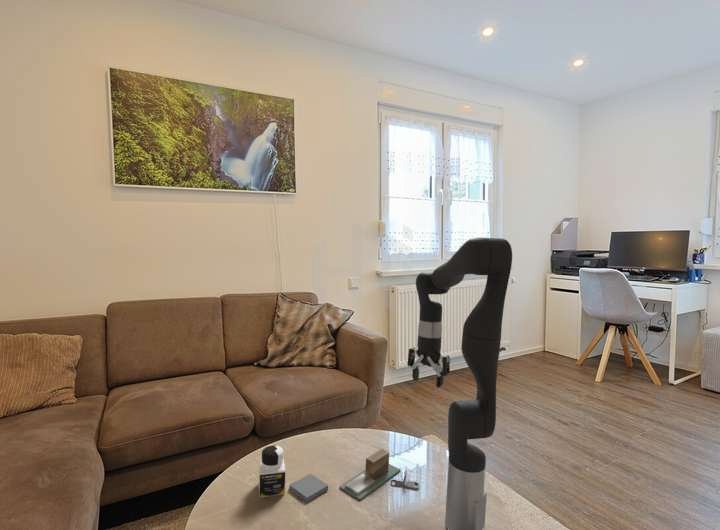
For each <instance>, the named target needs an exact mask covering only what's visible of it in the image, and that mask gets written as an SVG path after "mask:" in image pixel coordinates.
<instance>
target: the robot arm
mask: <svg viewBox="0 0 720 530" xmlns="http://www.w3.org/2000/svg"><path fill="white" fill-rule="evenodd" d="M512 264H513V249H512V245H511V243H510V242H509V241H508V240H507V239H505V238H500V237H498V238H497V237H481V236H480V237H472V238H469V239H468V240H467V241H465V242H464V243H463V244H462V245H461V246H460V247H459V248H458V250H457V251H456V252H455V253H454V254H453V255H451V258H450V259H448V260H447V262H445V263H443V264H442V265H440V266H438V267H436V268H435V269H434V270H433V271H431V272H428V271H426V272H425V271H423V272H420V273H419V274H418V275H417V276H416V280H415V288H416V292H417V297H418V301H419V302H418V303H419V322H418V326H417V327H418V328H417V342H416V343H417V348H416V347H411V348H409V349H408V356H407V366H408V367H411V368H412V376H411V377H412V380H413V381H414V382H416V381H418V380H419V377H420V368H419V367H420V366H421V365H423V366H428V367H430V368H431V367H432V370H434V372H435V373H436V375H437V376H436V386H435V387H436V388H437V389H439V388H442V386H443V385H444V377H446V376H448V375H450V373H451V370H450V366H451V365H450V363H451V361H450V360H451V357H450V355H442V354H441V350H442V334H443V326H442V325H443V323H442V322H443V321H442V319H443V305H442V303H440V302H438V301H436V300H435V301H433V300H431V298H430V295H445V294H448V292H449V291H450V289H451V288H453V287H454V286H456V285H457V286H458V284H460V283H461V282H462V281H463V280H464V277H465V276H466V275H474V276H486V282H485V287H484V291H483V293H482V296H481V297H480V299H479V300H478V302H477V303H476V305H475V306H474V307H473V309H472V310H471V312H470V313H469V315H468V316H467V317H466V319H465V321H464V323H463V327H462V336H461V353H462V357H463V358H464V360H465V363H466V365H467V366H468V368H469V370H470V371H471V373H472V376H473V378H474V380H475V383H476V396H475V397H476V398H475V399H474V400H473V399H472V400H469V399H468V400H455V401H452V402H451V403H450V405H449V408H448V414H447V415H448V416H447V420H448V421H447V427H448V429H447V438H448V439H447V447H448V448H447V450H448V463H447V464H448V465H447V477H446V478H447V480H446V481H447V482H446V496H445V512H444V513H445V514H444V517H445V518H444V525H445V528H446V527H447V528H448V529H449V530H482V529H483V528H484V527H485V528H486V526H485V525H486V512H487V510H486V509H487V493H485V480H486V479H485V478H486V477H485V476H486V464H487V457H486V454H485V453H484V451H482V449H480V448H479V447H478V446H476V445H474V444H470V443H468V440H477V439H478V440H479V439H480V440H481V439H488V438H490V437H492V436H493V434H494V432H495V428H496V423H497V422H496V421H497V379H498V368H499V367H498V366H499V357H500V351H501V350H500V349H501V341H502V330H503V329H502V326H503V325H502V324H503V316H504V308H505V300H506V295H507V290H508V286H509V281H510V276H511V270H512V266H513V265H512ZM416 356H417V359H416ZM415 359H416V360H415ZM440 361H441V362H440ZM441 363H442V364H441ZM447 528H446V529H447ZM485 528H484V529H485ZM448 529H447V530H448Z"/></svg>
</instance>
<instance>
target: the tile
mask: <svg viewBox="0 0 720 530" xmlns="http://www.w3.org/2000/svg"><path fill="white" fill-rule="evenodd" d="M288 490H289V491H290V492H292V493H294V494H295V495H296V496H298V497H299V498H300V499H301V500H303V501H304V502H306V503H309V502H310V501H312V500H314V499H315V498H317V497H319V496H320V495H322V494H323V493H325V492H328V491H329V484H327V483H325V482H324V481H323V480H321V479H319V478H318V477H316V476H315V475H313V474H312V473H309V474H307V475H305V476H303V477H301V478H299V479H297V480H295V481H294V482H292V483H290V484H289V486H288Z"/></svg>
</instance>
